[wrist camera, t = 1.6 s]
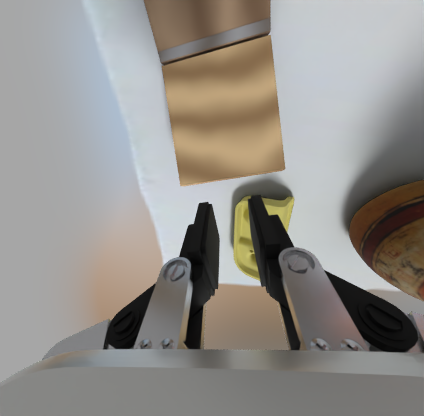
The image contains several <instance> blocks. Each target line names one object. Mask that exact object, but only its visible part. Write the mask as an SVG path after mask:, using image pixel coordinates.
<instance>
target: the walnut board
mask: <svg viewBox="0 0 424 416" xmlns="http://www.w3.org/2000/svg"><path fill="white" fill-rule="evenodd" d="M144 3H145V7H146V10H147V14H148V17H149V21H150V25H151V28H152V32H153V36H154V39H155V43H156V46H157V50H158V54H159V58H160V61H161V64H163V65H164V66H165V65H168V64H171V63H175V62H178V61H182V60H185V59H189V58H192V57H196V56H199V55H203V54H206V53H209V52H213V51H216V50H220V49H223V48H227V47H230V46H234V45H237V44H241V43H244V42H248V41H251V40H254V39H258V38H261V37H265V36H268V34H269V33H270V0H144Z"/></svg>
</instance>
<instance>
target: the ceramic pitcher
mask: <svg viewBox="0 0 424 416" xmlns="http://www.w3.org/2000/svg"><path fill="white" fill-rule="evenodd" d="M349 236H350V240H351V242H352V244H353V247H354V248H355V250H356V251H357V253H358V254H359V255H360V257H361V258H362V259H363V261H364V262H365V263H366V264H367V265H368V266H369V267H370V268H371V269H372V270H373V271H374V272H375V273H376V274H378V275H379V276H380V277H382V278H383V279H384V280H386V281H387V282H389V283H390V284H392V285H393V286H395V287H397V288H398V289H400V290H402V291H403V292H405V293H407V294H408V295H411V296H413V297H415V298H417V299H419V300H422V301H424V180H420V181H416V182H412V183H409V184H406V185H403V186H400V187H397V188H395V189H392V190H390V191H387V192H385V193H384V194H382V195H380V196H378V197H376V198H375V199H373V200H371V201H369V202H368V203H367V204H365V205H364V206H363V207H362V208H361V209H359V210H358V211H357V212H356V213H355V215H354V216H353V218H352V220H351V223H350V228H349Z"/></svg>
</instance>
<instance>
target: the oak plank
mask: <svg viewBox="0 0 424 416" xmlns="http://www.w3.org/2000/svg"><path fill="white" fill-rule="evenodd" d="M162 71H163V77H164V84H165V90H166V96H167V103H168V109H169V116H170V122H171V128H172V135H173V141H174V148H175V154H176V160H177V167H178V173H179V180H180V186H189V185H195V184H202V183H208V182H214V181H221V180H227V179H233V178H240V177H246V176H252V175H258V174H265V173H271V172H277V171H282V170H284V169H285V162H284V153H283V144H282V135H281V126H280V117H279V107H278V98H277V89H276V80H275V71H274V62H273V53H272V43H271V35H268V36H265V37H261V38H258V39H254V40H251V41H248V42H244V43H241V44H237V45H234V46H230V47H227V48H223V49H220V50H216V51H213V52H209V53H206V54H203V55H199V56H196V57H192V58H189V59H185V60H182V61H178V62H175V63H171V64H168V65H165V66H162Z"/></svg>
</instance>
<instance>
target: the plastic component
mask: <svg viewBox="0 0 424 416" xmlns="http://www.w3.org/2000/svg"><path fill="white" fill-rule="evenodd" d="M250 198H251V196H246V197H244V198H243V199H242V200H241V201H240V202H239V203H238V204H237V205H236V208H235V225H234V260H235V263H236V265H237V267H238V268H239V269H240V270H241V271H242V272H243V273H244V274H246V275H248V276H250V277H252V278H254V279H257V280H259V281H260V277H259V272H258V267H257V263H256V258H255V253H254V248H253V243H252V239H251V232H250V221H249V210H248V199H250ZM262 200H263V202H264V205H265V207H266V210H267V212H268V214H269V215H275V214H277V215H278V216H279V217H280V219H281V221H282V223H283V225H284V227H285V229H286V232H287V230H288V226H289V221H290V217H291V213H292V208H293V204H294V197H287V198H286V199H285V200H273V199H267V198H262Z"/></svg>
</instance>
